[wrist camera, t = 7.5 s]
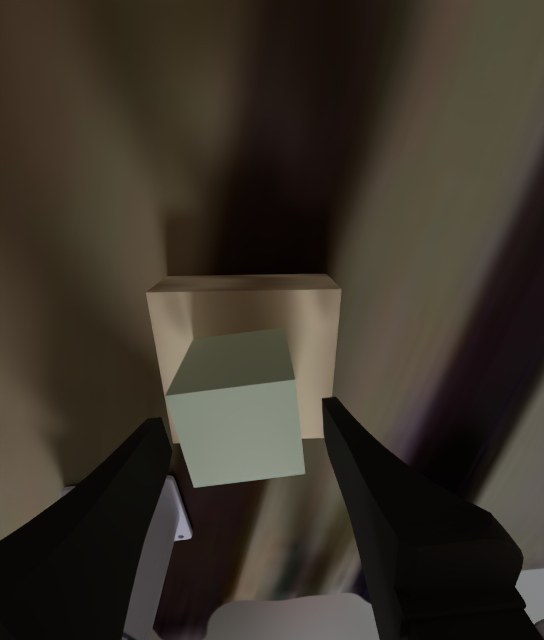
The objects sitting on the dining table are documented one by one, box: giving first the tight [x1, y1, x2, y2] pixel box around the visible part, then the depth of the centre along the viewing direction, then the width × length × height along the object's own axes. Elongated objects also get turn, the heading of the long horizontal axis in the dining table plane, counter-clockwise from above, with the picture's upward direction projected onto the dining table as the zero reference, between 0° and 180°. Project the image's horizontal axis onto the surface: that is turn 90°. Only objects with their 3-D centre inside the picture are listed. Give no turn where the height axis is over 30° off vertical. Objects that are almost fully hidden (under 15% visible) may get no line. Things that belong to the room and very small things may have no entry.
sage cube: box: [165, 328, 305, 488], centre depth 14 cm, size 5×5×5 cm
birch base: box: [146, 274, 342, 443], centre depth 18 cm, size 10×10×4 cm
